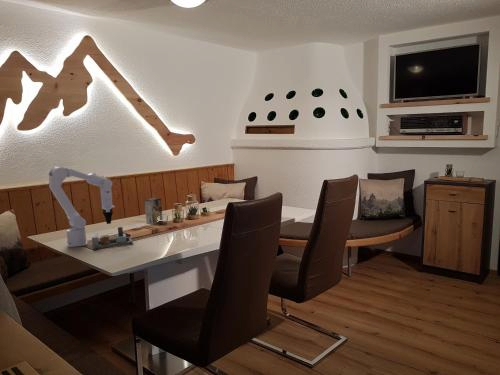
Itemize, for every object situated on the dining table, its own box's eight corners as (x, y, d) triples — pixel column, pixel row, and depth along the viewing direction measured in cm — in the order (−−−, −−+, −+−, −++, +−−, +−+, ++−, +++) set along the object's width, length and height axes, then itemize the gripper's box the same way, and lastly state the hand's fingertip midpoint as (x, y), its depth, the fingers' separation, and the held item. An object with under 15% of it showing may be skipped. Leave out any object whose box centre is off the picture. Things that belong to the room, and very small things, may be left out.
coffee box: (156, 220, 266) (154, 197, 264) (162, 221, 262) (161, 198, 260) (146, 223, 258) (144, 199, 256) (152, 224, 255) (151, 200, 252)
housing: (100, 246, 206) (99, 237, 206) (100, 244, 211) (99, 235, 210) (109, 245, 208) (108, 236, 207) (109, 243, 212) (108, 234, 211)
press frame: (92, 249, 202) (91, 238, 201) (93, 244, 212) (92, 233, 211) (132, 244, 209) (131, 233, 208) (131, 239, 219) (130, 229, 218)
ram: (116, 245, 208) (115, 229, 206) (116, 241, 215) (115, 226, 214) (126, 243, 209) (125, 228, 208) (125, 240, 217) (124, 225, 216)
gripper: (114, 200, 215) (116, 224, 217) (113, 196, 228) (115, 219, 230) (101, 201, 212) (103, 225, 214) (100, 197, 226) (102, 220, 227)
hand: (108, 222), depth 222 cm, fingers open, 7 cm apart
